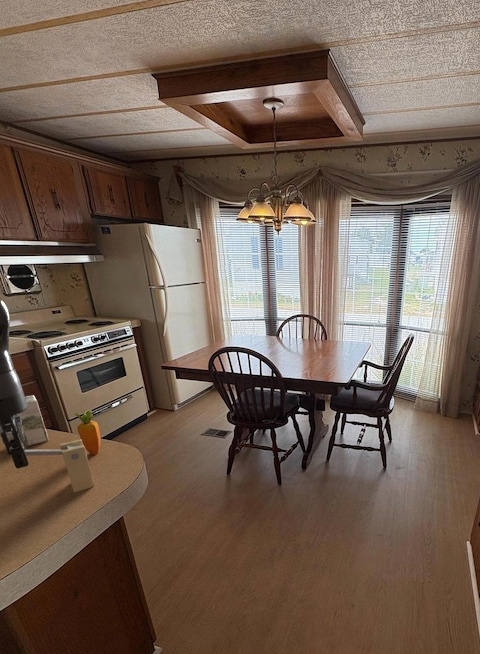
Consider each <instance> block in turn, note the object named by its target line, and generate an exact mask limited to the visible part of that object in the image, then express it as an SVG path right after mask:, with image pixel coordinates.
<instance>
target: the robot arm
mask: <svg viewBox="0 0 480 654" xmlns="http://www.w3.org/2000/svg"><path fill="white" fill-rule="evenodd" d="M10 323H11V316H10V311H9V308H8V305H7V304H6V302H5V301H4V300H3V298H1V297H0V438H1V441H2V444H3V445H4V446H5V448H6V451H7V453H6V454H7V455H8V456H9V457H10V456H11V458H12V461H13V465H14V467H15V468H16V469H21V468H25V467H28V466H29V460H28V457H27V455H26V454H25V450H27V446H26V443H25V441H24V435H23V432H24V431H23V427H22V420H21V417H20V416H17V414H20V413H22V412H24V411H25V410H26V409H27V407H28V406H27V402H26V399H25V397H26V396H25V392H24V390H23V386H22V383H21V380H20V376H19V375H18V373H17V371H16V368H15V366H14V363H13V360H12V356H11V353H10V347H9V345H10ZM16 446H19V447H16ZM15 447H16V448H15Z"/></svg>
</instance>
